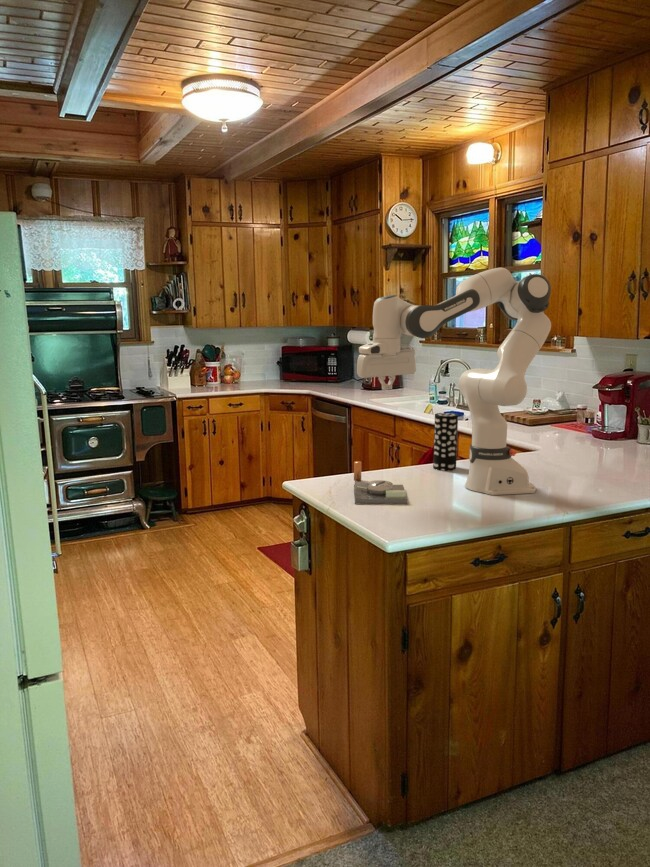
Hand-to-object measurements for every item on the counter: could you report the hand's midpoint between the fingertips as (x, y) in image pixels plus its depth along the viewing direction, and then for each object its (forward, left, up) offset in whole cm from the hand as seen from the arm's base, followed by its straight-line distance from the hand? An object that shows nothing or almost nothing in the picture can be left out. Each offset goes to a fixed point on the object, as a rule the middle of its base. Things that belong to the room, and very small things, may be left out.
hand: (386, 389), depth 227 cm
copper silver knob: (+5, +11, -31) cm, 33 cm away
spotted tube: (-23, -26, -33) cm, 48 cm away
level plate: (+3, +12, -32) cm, 35 cm away
